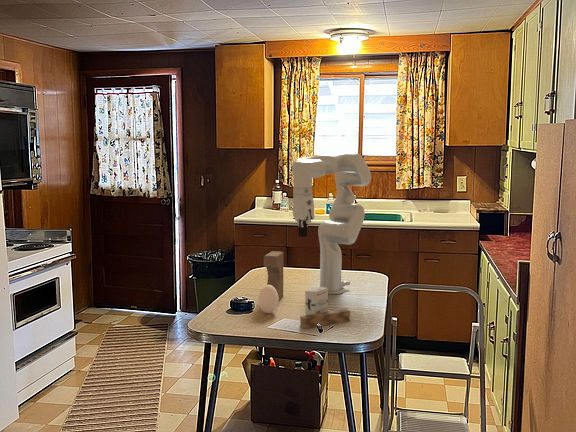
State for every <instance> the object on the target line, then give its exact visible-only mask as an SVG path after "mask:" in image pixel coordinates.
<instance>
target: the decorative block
mask: <svg viewBox="0 0 576 432" xmlns="http://www.w3.org/2000/svg"><path fill="white" fill-rule="evenodd" d="M263 267H264V268H266V271H267V283H266V285H271V286H273V287H274V288H275V289H276V291H277V293H278V297H279V301H280V300H281V299H282V298H283V297H284V252H283V251H279V250H278V251H275V250H271V251H270V252H268V253H266V254H265V255H264V256H263Z"/></svg>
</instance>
